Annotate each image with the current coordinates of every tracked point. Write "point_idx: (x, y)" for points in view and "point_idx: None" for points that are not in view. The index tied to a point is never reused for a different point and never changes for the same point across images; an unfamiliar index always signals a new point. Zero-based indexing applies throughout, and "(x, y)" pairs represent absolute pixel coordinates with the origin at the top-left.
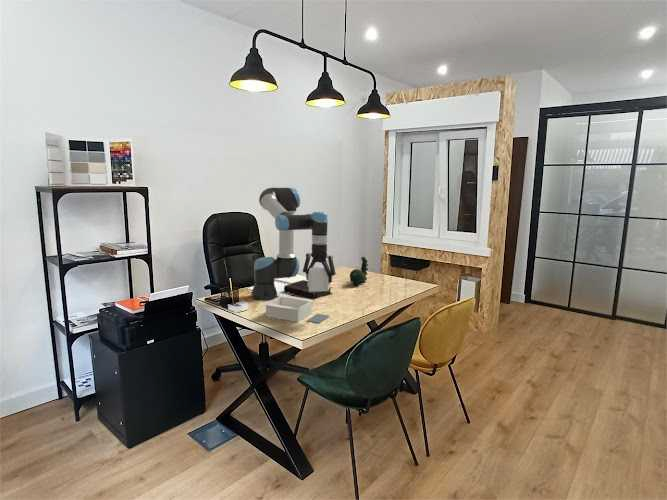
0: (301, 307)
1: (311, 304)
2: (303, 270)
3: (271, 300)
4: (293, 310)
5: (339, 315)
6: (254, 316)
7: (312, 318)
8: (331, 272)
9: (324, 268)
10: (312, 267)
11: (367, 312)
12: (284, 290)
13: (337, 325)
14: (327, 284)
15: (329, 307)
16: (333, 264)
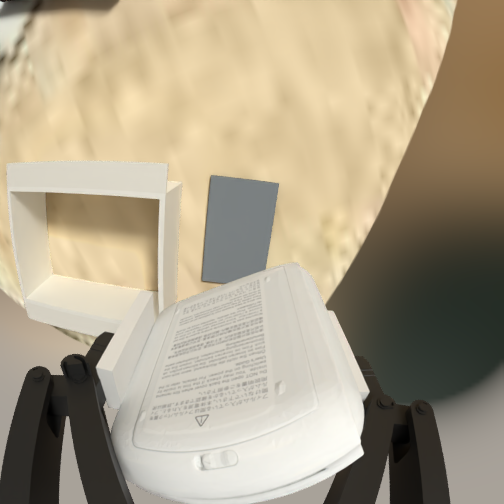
0: (164, 305)
1: (170, 191)
2: (50, 415)
3: (16, 263)
4: None
5: (320, 154)
6: None
7: (215, 249)
8: (393, 457)
9: (314, 482)
10: (146, 489)
11: (421, 86)
12: (4, 1)
13: (337, 277)
14: None
15: (235, 53)
16: (447, 495)
